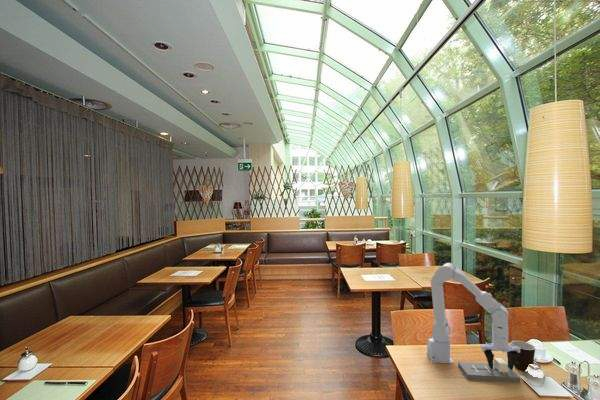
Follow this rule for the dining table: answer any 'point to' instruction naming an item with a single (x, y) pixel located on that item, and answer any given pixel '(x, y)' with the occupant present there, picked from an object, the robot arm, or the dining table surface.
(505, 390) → the dining table surface
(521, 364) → the coffee mug
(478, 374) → the slider panel
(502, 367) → the slider knob
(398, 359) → the dining table surface
